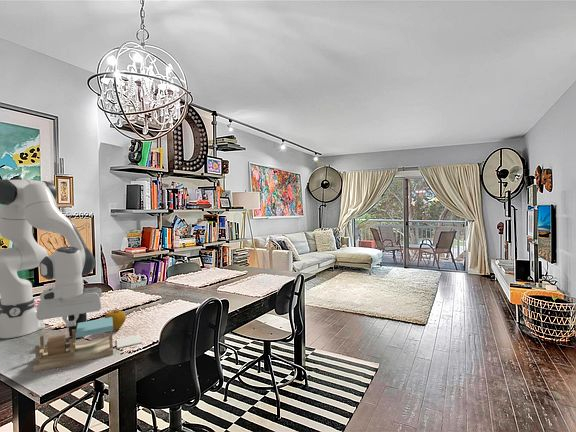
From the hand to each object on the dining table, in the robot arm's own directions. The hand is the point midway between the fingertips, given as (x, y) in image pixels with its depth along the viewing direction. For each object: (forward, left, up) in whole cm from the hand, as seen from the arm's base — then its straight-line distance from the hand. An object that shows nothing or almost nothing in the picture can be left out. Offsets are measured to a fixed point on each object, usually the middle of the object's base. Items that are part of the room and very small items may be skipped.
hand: (71, 326), depth 121 cm
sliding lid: (0, +8, -3) cm, 8 cm away
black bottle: (-21, +1, -12) cm, 24 cm away
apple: (-20, +15, -12) cm, 27 cm away
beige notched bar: (0, +1, -11) cm, 11 cm away
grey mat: (-2, +19, -11) cm, 22 cm away
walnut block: (0, -5, -9) cm, 10 cm away
